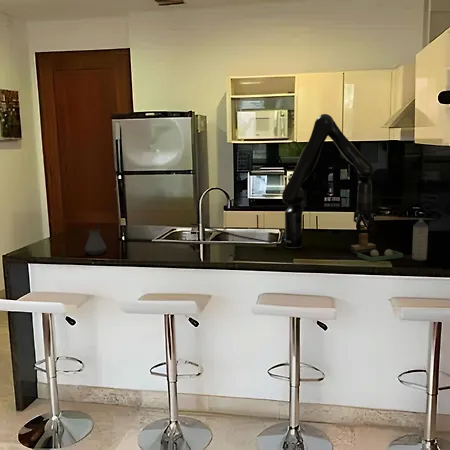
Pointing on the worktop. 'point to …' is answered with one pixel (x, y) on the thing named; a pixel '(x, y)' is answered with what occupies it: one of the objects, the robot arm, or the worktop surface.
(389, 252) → the paper ball
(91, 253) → the coffee pot
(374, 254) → the paper ball
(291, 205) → the robot arm
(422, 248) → the aerosol can
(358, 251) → the brown t-shaped block
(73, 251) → the worktop surface
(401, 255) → the corral
